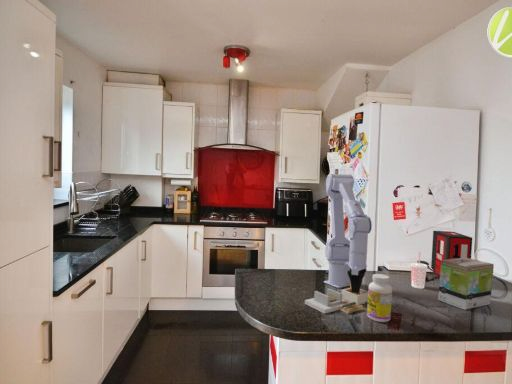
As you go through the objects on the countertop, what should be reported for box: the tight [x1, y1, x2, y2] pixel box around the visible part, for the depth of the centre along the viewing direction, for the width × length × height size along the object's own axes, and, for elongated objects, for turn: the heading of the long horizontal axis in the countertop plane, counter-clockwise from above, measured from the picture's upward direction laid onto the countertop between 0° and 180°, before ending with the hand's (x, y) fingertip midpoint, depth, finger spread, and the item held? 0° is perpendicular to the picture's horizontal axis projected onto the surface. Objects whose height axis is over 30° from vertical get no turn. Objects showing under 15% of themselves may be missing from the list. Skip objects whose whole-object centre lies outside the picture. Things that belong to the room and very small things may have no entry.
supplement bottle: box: [366, 273, 393, 323], centre depth 96 cm, size 7×7×13 cm
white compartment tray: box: [304, 288, 350, 314], centre depth 105 cm, size 12×9×4 cm
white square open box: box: [341, 287, 368, 306], centre depth 110 cm, size 7×7×3 cm
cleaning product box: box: [430, 230, 473, 279], centre depth 142 cm, size 16×9×20 cm, turn 172°
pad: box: [326, 294, 337, 303], centre depth 105 cm, size 4×4×1 cm
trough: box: [339, 302, 364, 315], centre depth 102 cm, size 7×3×2 cm, turn 123°
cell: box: [349, 282, 360, 295], centre depth 110 cm, size 3×3×6 cm
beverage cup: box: [410, 251, 428, 289], centre depth 128 cm, size 6×6×14 cm
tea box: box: [437, 258, 495, 311], centre depth 112 cm, size 15×10×15 cm, turn 117°
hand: (356, 290), depth 110 cm, fingers closed on cell, 3 cm apart
